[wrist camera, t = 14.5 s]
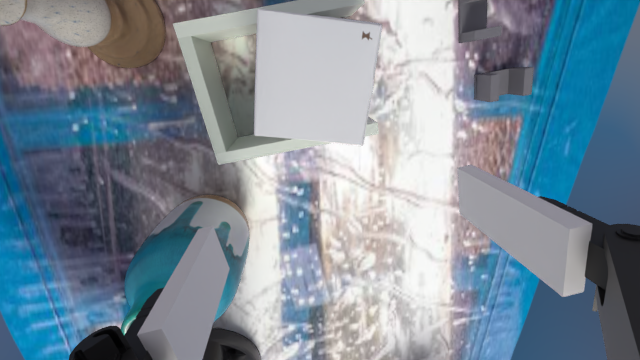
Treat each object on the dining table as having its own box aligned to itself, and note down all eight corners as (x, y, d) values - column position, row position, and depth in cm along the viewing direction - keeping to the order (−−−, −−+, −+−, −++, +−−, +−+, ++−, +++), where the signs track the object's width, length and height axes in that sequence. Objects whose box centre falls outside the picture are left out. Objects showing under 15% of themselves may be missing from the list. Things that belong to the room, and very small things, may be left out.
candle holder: (131, -40, 30) (-145, -226, 11) (183, 45, 33) (36, 15, 14) (59, 1, 31) (-315, -106, 12) (117, 81, 34) (-107, 98, 15)
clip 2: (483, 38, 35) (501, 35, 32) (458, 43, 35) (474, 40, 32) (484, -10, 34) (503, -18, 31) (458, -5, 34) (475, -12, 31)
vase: (170, 243, 42) (78, 375, 24) (181, 174, 38) (83, 268, 20) (246, 258, 43) (213, 390, 26) (262, 194, 40) (238, 294, 22)
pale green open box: (231, 148, 38) (218, 165, 31) (196, 32, 33) (172, 23, 26) (363, 122, 38) (378, 133, 31) (349, 3, 33) (363, -13, 26)
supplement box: (270, 29, 33) (254, 1, 19) (348, 39, 34) (387, 20, 20) (266, 111, 36) (250, 137, 22) (338, 118, 37) (365, 148, 23)
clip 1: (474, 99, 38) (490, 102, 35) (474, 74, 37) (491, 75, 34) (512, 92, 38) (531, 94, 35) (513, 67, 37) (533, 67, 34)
